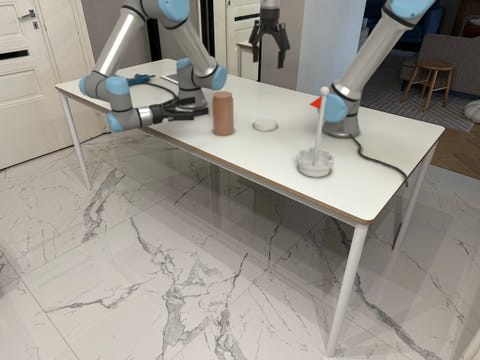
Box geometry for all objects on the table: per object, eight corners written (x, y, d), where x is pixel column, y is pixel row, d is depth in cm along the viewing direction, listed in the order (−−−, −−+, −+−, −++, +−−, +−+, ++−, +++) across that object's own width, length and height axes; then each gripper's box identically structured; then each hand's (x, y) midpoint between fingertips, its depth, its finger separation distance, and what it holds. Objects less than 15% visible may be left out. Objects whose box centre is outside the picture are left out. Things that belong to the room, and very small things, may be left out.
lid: (261, 119, 160) (262, 115, 159) (280, 125, 155) (280, 120, 154) (249, 127, 153) (249, 122, 152) (268, 132, 148) (269, 128, 147)
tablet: (159, 76, 219) (159, 75, 219) (186, 70, 230) (186, 70, 230) (187, 88, 199) (187, 87, 198) (214, 81, 210) (214, 80, 210)
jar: (221, 137, 145) (220, 99, 135) (209, 130, 150) (207, 93, 141) (237, 131, 149) (237, 94, 140) (225, 125, 155) (224, 89, 146)
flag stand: (319, 157, 130) (331, 78, 113) (339, 173, 119) (355, 90, 103) (289, 163, 126) (296, 83, 109) (307, 181, 115) (318, 95, 99)
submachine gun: (141, 68, 225) (159, 74, 208) (142, 74, 227) (160, 80, 210) (89, 78, 206) (104, 86, 190) (91, 84, 208) (106, 92, 192)
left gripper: (143, 113, 141) (190, 104, 149) (161, 136, 123) (214, 124, 131) (140, 95, 137) (189, 87, 145) (158, 117, 119) (213, 106, 127)
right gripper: (239, 5, 133) (240, 61, 145) (289, 11, 118) (285, 72, 130) (253, 4, 137) (252, 58, 149) (302, 9, 122) (297, 69, 134)
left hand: (201, 104), depth 138 cm, fingers open, 13 cm apart
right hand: (267, 65), depth 139 cm, fingers open, 13 cm apart
